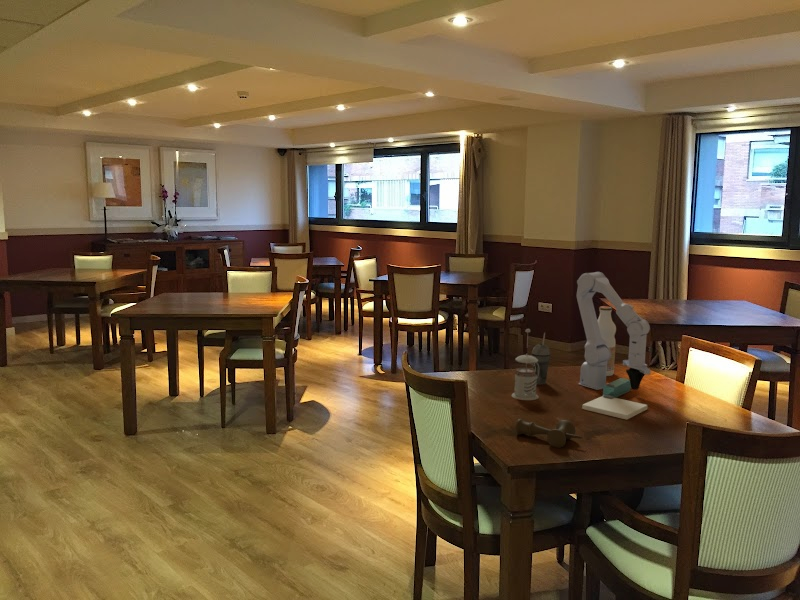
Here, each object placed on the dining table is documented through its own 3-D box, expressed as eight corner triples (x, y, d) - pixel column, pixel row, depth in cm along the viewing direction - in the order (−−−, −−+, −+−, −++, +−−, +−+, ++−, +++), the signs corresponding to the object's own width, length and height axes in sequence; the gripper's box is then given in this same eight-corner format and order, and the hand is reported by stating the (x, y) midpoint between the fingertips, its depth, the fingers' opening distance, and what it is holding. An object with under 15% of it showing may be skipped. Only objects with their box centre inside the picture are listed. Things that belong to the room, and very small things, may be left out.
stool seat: (582, 408, 228) (582, 402, 228) (603, 399, 240) (604, 393, 239) (626, 419, 217) (627, 413, 217) (647, 409, 229) (647, 403, 229)
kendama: (523, 431, 207) (587, 442, 196) (511, 441, 199) (577, 453, 188) (523, 412, 206) (587, 422, 195) (511, 421, 198) (577, 433, 187)
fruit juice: (612, 377, 270) (616, 309, 266) (588, 375, 274) (592, 307, 270) (614, 372, 279) (618, 306, 275) (591, 369, 282) (595, 304, 278)
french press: (505, 395, 243) (508, 328, 239) (525, 390, 250) (528, 324, 247) (527, 401, 235) (530, 332, 232) (547, 395, 243) (550, 328, 239)
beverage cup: (526, 381, 263) (529, 331, 260) (543, 379, 265) (545, 330, 262) (536, 386, 256) (538, 335, 253) (552, 384, 258) (555, 334, 255)
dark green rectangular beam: (613, 399, 239) (614, 387, 238) (602, 397, 241) (603, 385, 240) (630, 390, 250) (631, 378, 249) (620, 388, 253) (621, 376, 252)
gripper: (658, 356, 237) (656, 393, 239) (635, 348, 251) (633, 383, 253) (641, 357, 235) (639, 394, 237) (618, 349, 249) (616, 384, 251)
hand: (634, 389), depth 245 cm, fingers closed
